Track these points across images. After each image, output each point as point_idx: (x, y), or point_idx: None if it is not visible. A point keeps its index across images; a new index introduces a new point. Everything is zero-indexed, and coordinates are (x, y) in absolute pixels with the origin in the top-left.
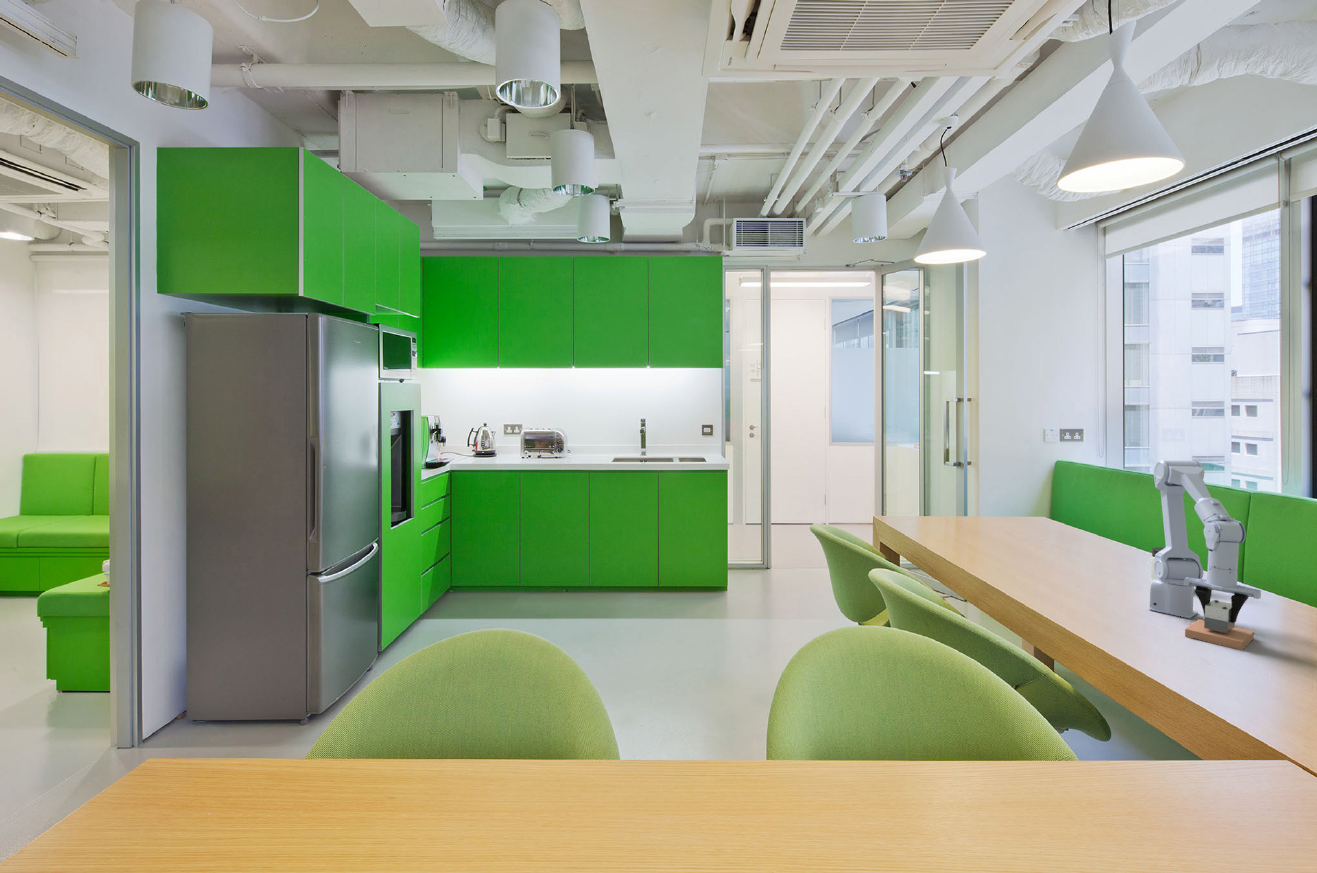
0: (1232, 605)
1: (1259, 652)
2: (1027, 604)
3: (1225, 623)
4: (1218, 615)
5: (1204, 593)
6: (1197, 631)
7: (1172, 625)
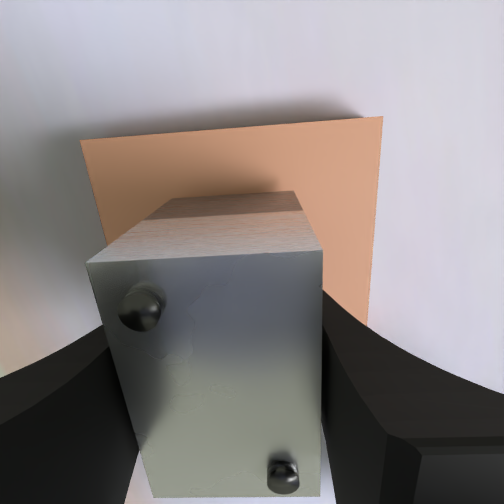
0: (68, 375)
1: (53, 180)
2: None
3: (163, 213)
4: (198, 226)
5: (412, 429)
6: (313, 126)
7: (447, 276)
